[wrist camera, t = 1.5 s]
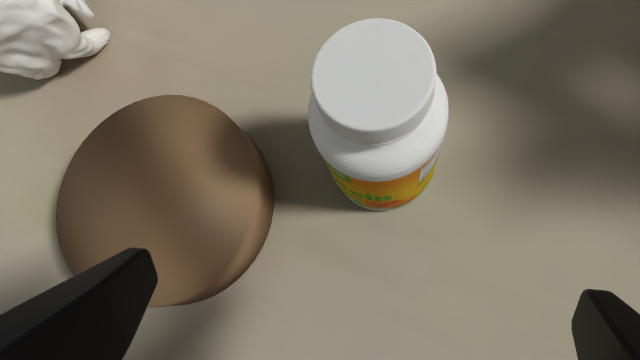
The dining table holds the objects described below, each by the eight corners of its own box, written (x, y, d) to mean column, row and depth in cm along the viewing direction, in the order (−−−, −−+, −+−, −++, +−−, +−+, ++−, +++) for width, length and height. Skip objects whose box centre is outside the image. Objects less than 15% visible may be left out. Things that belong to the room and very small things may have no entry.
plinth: (157, 349, 22) (121, 359, 19) (66, 200, 25) (23, 188, 22) (313, 212, 22) (301, 200, 19) (202, 83, 25) (177, 57, 23)
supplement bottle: (315, 186, 22) (258, 113, 13) (359, 103, 23) (334, -21, 14) (407, 230, 21) (414, 182, 12) (450, 139, 22) (489, 27, 12)
